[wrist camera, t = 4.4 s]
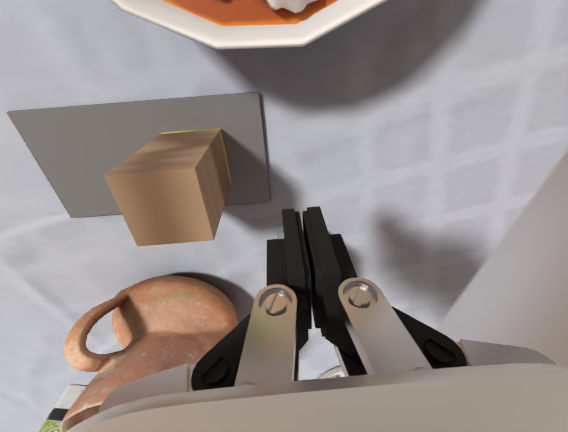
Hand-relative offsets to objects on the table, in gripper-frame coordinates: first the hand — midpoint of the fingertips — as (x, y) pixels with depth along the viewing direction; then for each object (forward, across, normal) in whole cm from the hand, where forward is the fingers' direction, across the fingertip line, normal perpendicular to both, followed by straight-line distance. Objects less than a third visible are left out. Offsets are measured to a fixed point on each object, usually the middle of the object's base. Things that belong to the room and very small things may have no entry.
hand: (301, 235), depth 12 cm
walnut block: (+13, +8, +1) cm, 15 cm away
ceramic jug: (+13, +15, +20) cm, 28 cm away
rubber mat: (+14, +12, +1) cm, 18 cm away
